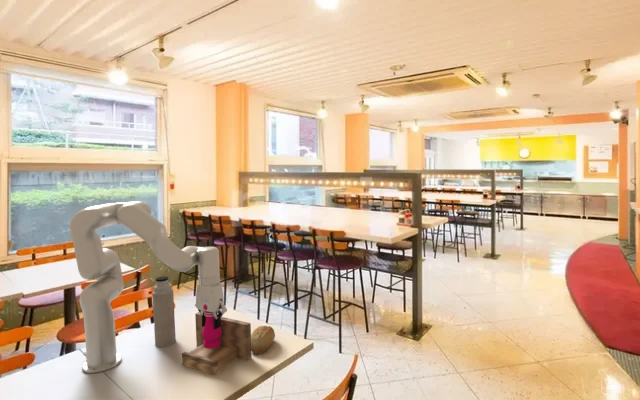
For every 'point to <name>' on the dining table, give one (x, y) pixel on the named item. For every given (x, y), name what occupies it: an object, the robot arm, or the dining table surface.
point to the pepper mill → (210, 331)
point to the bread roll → (262, 339)
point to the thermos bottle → (163, 312)
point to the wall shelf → (230, 349)
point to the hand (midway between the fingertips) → (211, 326)
